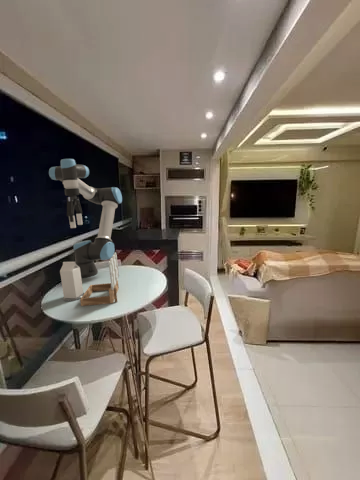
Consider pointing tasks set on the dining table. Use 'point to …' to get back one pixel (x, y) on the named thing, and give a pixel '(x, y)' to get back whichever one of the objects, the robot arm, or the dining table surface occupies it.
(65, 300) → the disc
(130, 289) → the dining table surface
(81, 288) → the milk carton
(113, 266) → the cold frame
